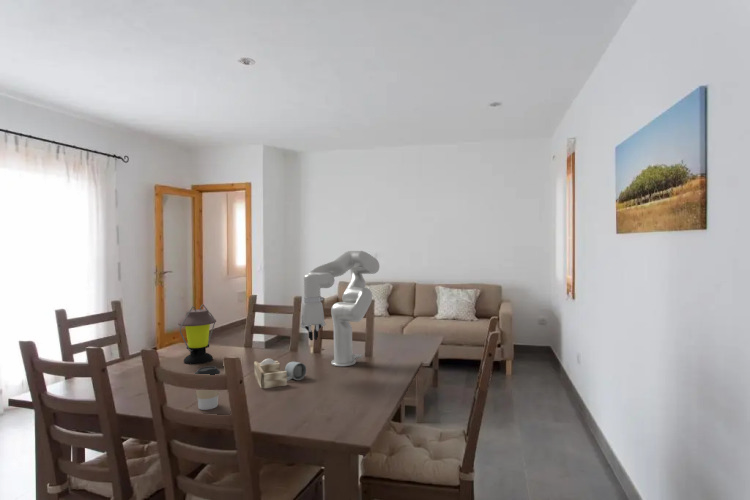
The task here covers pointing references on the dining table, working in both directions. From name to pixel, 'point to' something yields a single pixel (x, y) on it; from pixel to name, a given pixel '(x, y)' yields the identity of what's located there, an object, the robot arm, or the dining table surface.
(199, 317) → the lantern
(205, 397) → the coffee cup
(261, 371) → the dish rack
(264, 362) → the white plate
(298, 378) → the ceramic mug
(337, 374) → the dining table surface
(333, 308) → the robot arm
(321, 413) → the dining table surface
